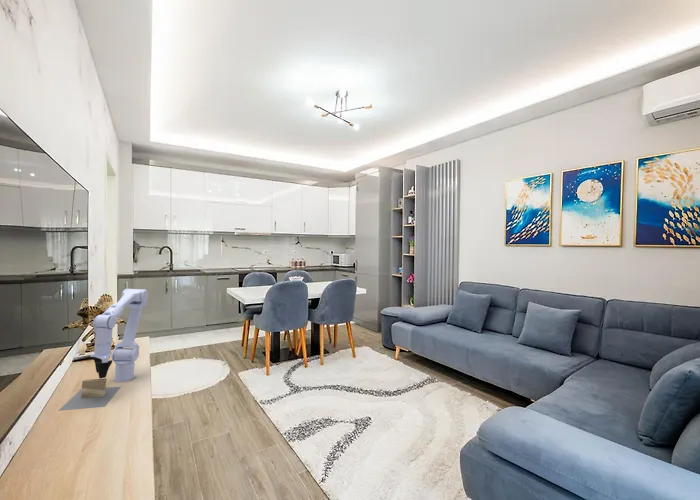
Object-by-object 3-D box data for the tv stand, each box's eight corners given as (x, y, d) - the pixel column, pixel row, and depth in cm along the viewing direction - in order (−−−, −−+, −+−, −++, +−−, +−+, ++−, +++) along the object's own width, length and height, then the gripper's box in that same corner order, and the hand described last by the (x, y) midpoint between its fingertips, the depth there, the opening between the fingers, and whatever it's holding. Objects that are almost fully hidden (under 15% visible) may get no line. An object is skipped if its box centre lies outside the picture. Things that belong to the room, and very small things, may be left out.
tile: (82, 396, 137) (83, 379, 137) (105, 394, 140) (106, 378, 140) (80, 398, 136) (82, 381, 136) (103, 396, 138) (105, 379, 139)
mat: (80, 390, 144) (80, 389, 144) (120, 387, 149) (121, 386, 149) (58, 412, 125) (58, 410, 125) (104, 408, 130) (105, 406, 130)
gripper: (89, 340, 142) (86, 371, 141) (93, 348, 131) (91, 382, 131) (109, 338, 147) (107, 368, 146) (115, 346, 136) (112, 378, 136)
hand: (101, 374), depth 139 cm, fingers open, 7 cm apart
